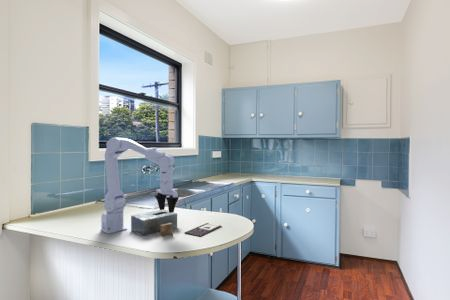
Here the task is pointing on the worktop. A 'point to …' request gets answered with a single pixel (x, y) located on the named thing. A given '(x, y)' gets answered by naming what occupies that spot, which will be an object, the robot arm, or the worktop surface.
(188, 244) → the worktop surface
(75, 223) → the worktop surface
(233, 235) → the worktop surface
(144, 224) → the cash box
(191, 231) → the chocolate bar
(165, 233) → the tan rectangular slab
